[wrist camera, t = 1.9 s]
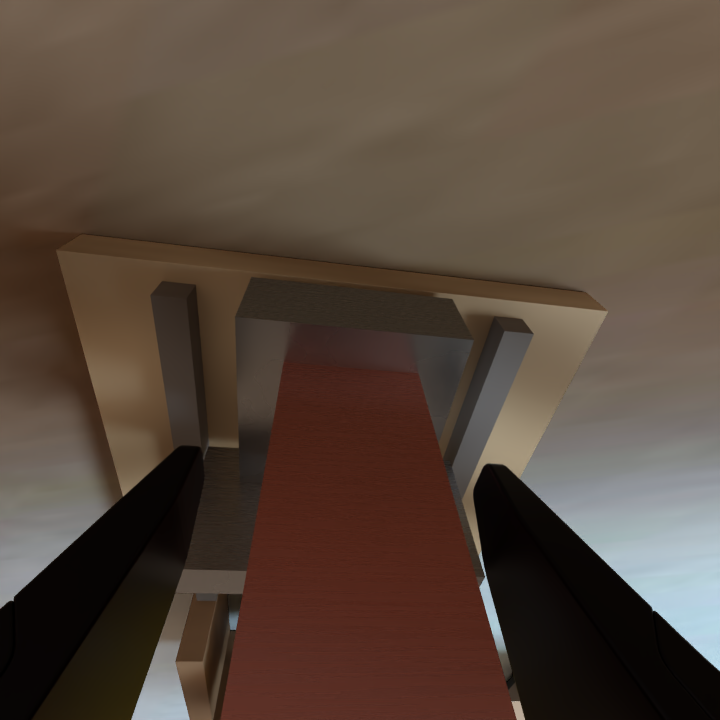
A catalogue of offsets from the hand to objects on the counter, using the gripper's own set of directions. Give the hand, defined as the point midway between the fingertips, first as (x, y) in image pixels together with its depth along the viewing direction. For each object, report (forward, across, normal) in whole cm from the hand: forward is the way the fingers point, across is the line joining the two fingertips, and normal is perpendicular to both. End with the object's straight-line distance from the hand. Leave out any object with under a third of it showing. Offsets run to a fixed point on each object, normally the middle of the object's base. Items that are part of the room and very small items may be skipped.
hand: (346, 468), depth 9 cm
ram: (+3, 0, +1) cm, 4 cm away
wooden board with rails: (+5, 0, +5) cm, 7 cm away
